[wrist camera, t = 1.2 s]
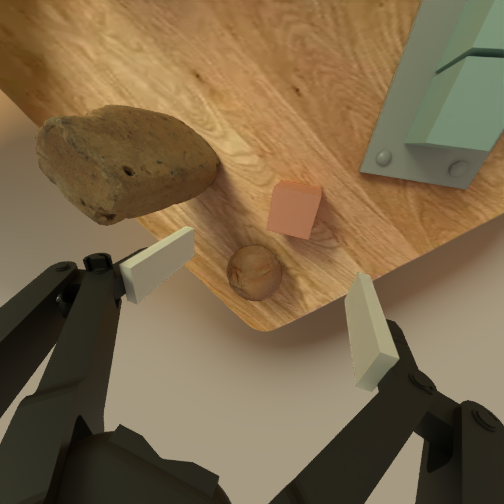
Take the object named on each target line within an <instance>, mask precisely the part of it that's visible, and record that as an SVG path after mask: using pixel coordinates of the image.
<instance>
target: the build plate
mask: <svg viewBox="0 0 504 504" xmlns="http://www.w3.org/2000/svg"><path fill="white" fill-rule="evenodd" d="M503 132H504V0H421V1H420V4H419V7H418V10H417V12H416V15H415V18H414V21H413V23H412V26H411V29H410V31H409V34H408V37H407V40H406V42H405V45H404V48H403V51H402V53H401V56H400V59H399V62H398V64H397V67H396V70H395V72H394V75H393V78H392V81H391V83H390V86H389V89H388V92H387V94H386V97H385V100H384V103H383V105H382V108H381V111H380V113H379V116H378V119H377V122H376V124H375V127H374V130H373V133H372V135H371V138H370V141H369V144H368V146H367V149H366V152H365V154H364V157H363V160H362V163H361V165H360V168H359V172H364V173H370V174H376V175H382V176H388V177H394V178H400V179H406V180H412V181H418V182H424V183H430V184H436V185H442V186H448V187H454V188H460V189H466V190H467V188H468V187H469V185H470V183H471V182H472V180H473V179H474V177H475V176H476V174H477V173H478V171H479V169H480V168H481V166H482V165H483V163H484V162H485V160H486V159H487V157H488V155H489V154H490V152H491V151H492V149H493V148H494V146H495V145H496V143H497V141H498V140H499V138H500V137H501V135H502V134H503Z"/></svg>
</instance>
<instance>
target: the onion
mask: <svg viewBox="0 0 504 504" xmlns="http://www.w3.org/2000/svg"><path fill="white" fill-rule="evenodd" d="M276 256H277V254H273V253H272V252H271V251H269V250H268V249H266V248H264V247H262V246H259V245H253V246H246V247H244V248H241V249H239V250H238V251H237V252H236V253H235V254H234V255H233V256H232V257H231V259H230V261H229V263H228V267H227V277H228V280H229V284H230V286H231V287H232V288H233V290H234V291H235V292H236V293H237V294H238V295H239V296H241V297H242V298H244V299H246V300H250V301H261V300H264V299H266V298H268V297H270V296H272V295H273V294H274V293H275V291H276V290H277V289H278V287H279V285H280V282H281V278H282V270H281V266H280V263H279V262H278V260H277V258H276Z"/></svg>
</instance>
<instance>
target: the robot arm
mask: <svg viewBox="0 0 504 504" xmlns="http://www.w3.org/2000/svg"><path fill="white" fill-rule="evenodd" d="M193 257H194V228H192V227H188V226H185V227H183V228H182V229H180V230H178V231H176V232H175V233H173V234H171V235H169V236H168V237H166V238H164V239H163V240H161V241H159V242H158V243H156V244H154V245H152V246H151V247H149V248H148V247H146V248H143V249H140V250H138V251H136V252H134V253H133V254H131V255H129V256H128V257H125V258H124V259H122V260H120V261H118V262H116V263H115V264H112V260H111V256H110V255H109V254H107V253H95V254H91V255H89V256H87V257H85V258H84V259H83V262H84V265H85V268H86V270H81V269H78V268H77V265H76V263H74V262H69V261H68V262H59V263H57V264H54V265H52V266H50V267H49V268H47V269H46V270H45V271H44V272H43V273H41V274H40V275H39V276H38V277H37V278H35V279H34V280H33V281H32V282H31V283H29V284H28V285H27V286H26V287H25V288H23V289H22V290H21V291H20V292H19V293H18V294H16V295H15V296H14V297H13V298H11V299H10V300H9V301H8V302H7V303H5V304H4V305H3V306H2V307H1V308H0V418H1V417H2V415H3V414H4V413H5V411H6V410H7V408H8V407H9V406H10V404H11V403H12V402H13V400H14V399H15V398H16V396H17V395H18V394H19V392H20V391H21V390H22V388H23V387H24V386H25V384H26V383H27V382H28V380H29V379H30V377H31V376H32V375H33V373H34V372H35V371H36V369H37V368H38V366H39V365H40V364H41V363H42V361H43V360H44V359H45V357H46V356H47V355H48V353H49V352H50V350H51V349H52V348H53V347H54V345H55V344H56V346H55V348H54V350H53V353H52V355H51V357H50V360H49V362H48V364H47V367H46V369H45V371H44V374H43V376H42V379H41V381H40V383H39V386H38V388H37V390H36V392H35V393H34V394H33V395H29V396H26V397H25V398H24V399H23V400H22V401H21V402H20V404H19V406H18V407H17V410H16V411H15V414H14V416H13V418H12V420H11V422H10V425H9V426H8V429H7V431H6V433H5V435H4V437H3V439H2V442H1V444H0V504H231V502H230V500H229V498H228V496H227V495H226V493H225V492H224V490H223V489H222V488H221V487H220V486H219V484H218V480H219V476H218V475H216V474H214V473H212V472H210V471H208V470H207V469H204V468H203V467H201V466H199V465H197V464H195V463H193V462H185V461H176V460H167V459H162V458H160V457H159V455H158V454H157V453H156V452H155V451H154V450H153V448H152V447H151V446H150V445H149V443H148V442H147V441H146V440H145V439H144V437H143V436H142V435H140V434H138V433H136V432H134V431H132V430H130V429H128V428H126V427H124V426H122V425H121V424H119V426H118V427H117V429H116V430H115V431H110V432H104V418H103V416H104V407H105V401H106V395H107V388H108V383H109V376H110V370H111V364H112V358H113V352H114V346H115V340H116V334H117V327H118V321H119V315H120V309H121V303H122V300H121V297H122V296H123V295H124V294H126V297H127V300H128V301H130V302H133V303H135V304H138V303H139V302H141V301H142V300H143V299H144V298H145V297H146V296H148V295H149V294H150V293H151V292H152V291H154V290H155V289H156V288H157V287H158V286H160V285H161V284H162V283H163V282H164V281H165V280H167V279H168V278H169V277H170V276H171V275H173V274H174V273H175V272H176V271H177V270H178V269H179V268H181V267H182V266H183V265H184V264H185V263H187V262H188V261H189V260H190V259H191V258H193ZM57 297H59V298H58V299H57ZM56 299H57V300H56ZM344 302H345V309H346V317H347V325H348V332H349V339H350V347H351V354H352V362H353V369H354V376H355V384H356V386H357V387H360V388H363V389H365V390H368V391H371V392H372V391H373V390H374V389H375V388H376V387H377V386H378V390H379V393H378V394H377V395H376V396H375V397H374V398H373V399H372V400H371V401H370V402H369V403H368V404H367V405H366V406H365V407H364V408H363V409H362V410H361V411H360V412H359V413H358V414H357V415H356V416H355V417H354V418H353V419H352V420H351V421H350V422H349V423H348V424H347V426H345V427H344V428H343V429H342V430H341V432H339V434H338V435H337V436H336V437H335V438H334V439H333V440H332V441H331V442H330V443H329V444H328V445H327V446H326V447H325V448H324V449H323V450H322V451H321V452H320V453H319V454H318V455H317V456H316V457H315V458H314V459H313V460H312V461H311V462H310V463H309V464H308V465H307V466H306V467H305V468H304V469H303V470H302V471H301V472H300V473H299V474H298V476H297V477H296V478H295V479H294V480H292V481H291V482H290V483H289V484H288V485H287V486H286V487H285V488H284V489H283V490H282V491H281V492H280V493H279V494H278V495H277V496H276V497H275V498H274V499H273V500H272V501H271V502H270V503H269V504H364V503H365V502H366V500H367V498H368V497H369V496H370V494H371V493H372V491H373V490H374V488H375V487H376V485H377V484H378V482H379V481H380V480H381V478H382V477H383V475H384V474H385V472H386V471H387V469H388V468H389V466H390V465H391V463H392V462H393V460H394V459H395V457H396V456H397V455H398V453H399V451H400V450H401V448H402V447H403V446H404V444H405V443H406V441H407V440H408V438H409V437H410V435H411V434H412V432H413V431H414V432H415V433H416V434H418V435H420V436H421V437H422V438H424V444H423V451H422V458H421V465H420V473H419V480H418V488H417V495H416V503H415V504H504V426H503V424H502V423H501V421H500V420H499V419H498V418H497V417H496V416H495V415H494V414H493V413H492V412H490V411H489V410H488V409H486V408H485V407H484V406H482V405H480V404H478V403H476V402H473V401H469V400H467V401H463V402H462V403H461V404H458V403H457V402H455V401H453V400H452V399H450V398H448V397H447V396H445V395H443V394H442V393H440V392H439V391H437V389H436V386H435V385H434V383H433V382H432V380H431V379H430V378H429V377H428V376H427V375H425V374H424V373H423V372H421V371H419V369H418V367H417V365H416V362H415V360H414V357H413V355H412V353H411V351H410V348H409V346H408V344H407V341H406V339H405V336H404V334H403V332H402V330H401V328H400V327H399V326H398V325H397V324H396V323H395V322H394V321H391V320H387V319H385V317H384V314H383V311H382V308H381V306H380V303H379V300H378V297H377V294H376V291H375V289H374V286H373V283H372V280H371V277H370V275H368V274H364V273H360V272H358V273H357V275H356V278H355V280H354V282H353V284H352V286H351V288H350V290H349V292H348V294H347V296H346V298H345V300H344ZM56 342H57V343H56Z"/></svg>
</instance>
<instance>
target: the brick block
mask: <svg viewBox="0 0 504 504" xmlns="http://www.w3.org/2000/svg"><path fill="white" fill-rule="evenodd" d="M321 197H322V188H321V187H316V186H310V185H305V184H300V183H294V182H289V181H284V180H282V181H280V182H279V183H278V184H277V185H276V186H274V190H273V195H272V201H271V207H270V212H269V218H268V224H267V229H266V230H269V231H274V232H278V233H282V234H286V235H290V236H294V237H298V238H302V239H307V240H309V237H310V234H311V230H312V227H313V223H314V220H315V217H316V213H317V210H318V207H319V203H320V200H321Z"/></svg>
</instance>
